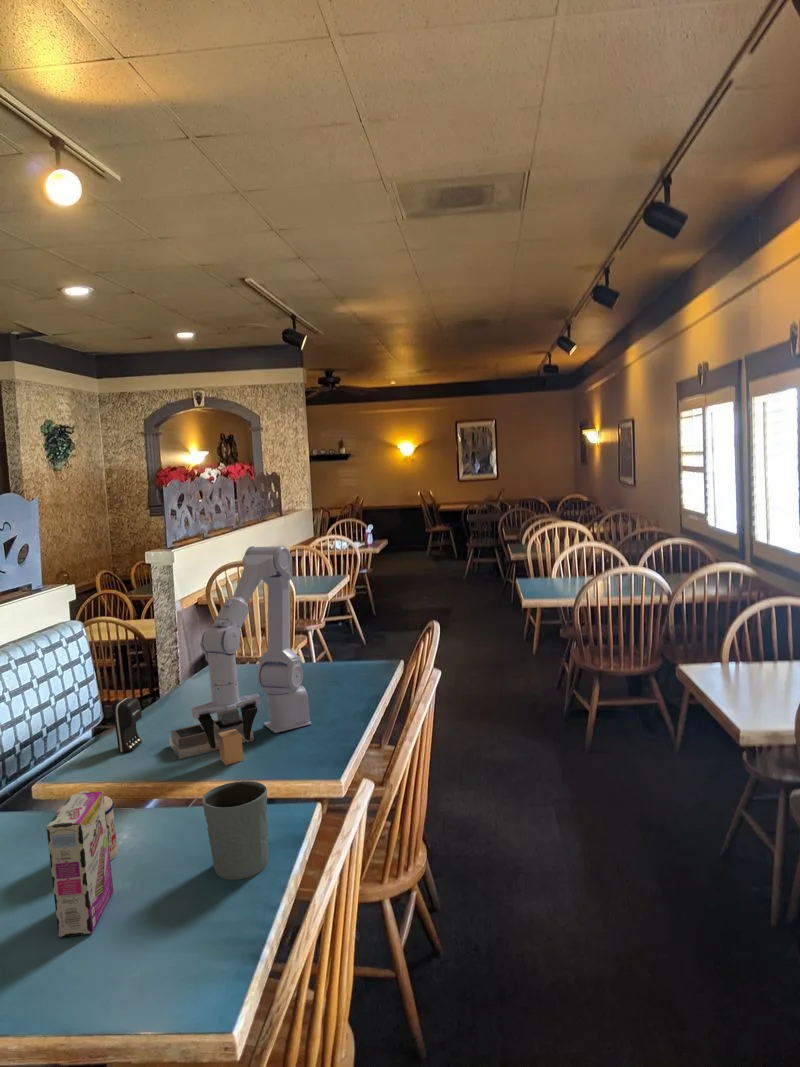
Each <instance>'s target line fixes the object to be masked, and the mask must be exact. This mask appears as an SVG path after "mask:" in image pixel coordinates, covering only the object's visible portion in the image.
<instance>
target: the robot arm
mask: <svg viewBox="0 0 800 1067" xmlns="http://www.w3.org/2000/svg"><path fill="white" fill-rule="evenodd" d="M242 557H243V558H242V560H241V561H242V567H243V570H242V573H241V576H240V577H239V580H238V583H237V586H236V588H235V590H234V593H233V595H232V597H230V598H227V599H225V601H224V603H223V604H222V606H221V609H220V610H219V612H218V615H217V616H216V618H215V620H214V622H213V624H212V626H210V627H209V628H207V629H206V630H205V631H203V633H202V635H201V640H200V641H201V642H200V648H201V650H202V652H203V653H204V657H205V661H206V662H207V663H208V671H209V672H208V673H209V680H210V681H209V682H210V688H211V699H212V701H209V702H206V703H204V704H201V705H198V706H194V707H191V714H192V716H191V717H192V718H193V719H194V720H195V719H197V721H199V723H200V724H201V725H202V727H203V728H204V730H205V732H206V735H207V737H208V740H209V744H210V747H211V748H212V749H213V748H216V745H215V738H214V721H215V720H214V719H213V717H212V715H214V714H217V713H219V712H223V711H228V710H232V709H240V712H241V717H242V719H243V732H244V738H245V739H246V740H250V734H251V731H252V728H253V723H254V720H255V719H256V715H257V713H258V705H261V696H260V695H259V694H258V693H254V694H249V695H240V691H239V690H240V689H239V681H238V672H237V662H236V652H237V651H238V649H239V647H240V644H241V642H240V641H241V635H242V631H241V629H242V627H243V625H244V623H245V621H246V618H247V617H248V614H249V612H250V608H249V606H248V602H249V601H250V599H251V598H252V596H253V594H254V593H255V591H256V589H257V588H258V585H259V584H260V583H261V581H263V582H264V583H265V584H266V585H267V651H266V652H265V653H264V654H262V655H261V656H260V657H259V665H258V666H259V667H258V669H257V672H256V673H257V675H256V679H257V682H258V684H259V686H260V687H261V688H263V692H265V693H266V702H267V711H268V721H265V722H264V724H263V725H264V726H265V727H267V728H268V729H269V730H270V731H271V732H273V733H275V734H277V733H280V732H285V731H289V730H294V729H297V728H300V727H305V726H309V725H312V721H311V715H310V714H311V713H310V706H309V704H310V703H309V696H308V692H307V690H306V688H305V687H304V686H303V685H301V684H302V682H303V678H304V672H303V669H302V665H301V657H300V656H299V655H297V654H296V653H295V652H294V651H293V650H292V649H291V601H290V600H291V598H290V597H291V596H290V595H291V582H290V580H292V578H293V555H292V553H291V552H290V550H289V549H288V548H287V546H285V545H278V546H277V545H276V546H254V545H253V546H249V547H248V548H246V551H245V552H244V556H242Z"/></svg>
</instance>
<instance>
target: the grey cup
mask: <svg viewBox="0 0 800 1067" xmlns="http://www.w3.org/2000/svg"><path fill="white" fill-rule="evenodd" d="M201 802H202V807H203V812H204V816H205V822H206V825H207V828H206V830H207V834H208V839H209V846H210V850H211V851H210V852H211V857H212V863H213V869H214V872H215V874H216V875H217V876H218V877H219V878H221V879H223V880H229V881H232V880H233V881H238V880H244V879H248V878H252V877H253V876H256V875H258V874H259V873H261V872H263V871H264V870H265V868H267V866H268V864H269V845H268V836H269V831H268V815H267V814H268V813H267V812H268V809H267V808H268V807H267V806H268V788H267V786H266V785H265V784H264V783H262V782H258V781H253V780H252V781H251V780H250V781H249V780H246V781H245V780H242V781H240V780H239V781H233V782H228V783H224V784H222V785H218V786H216V787H214V788H212V789H210V790H208V791H207V792H206V793H205V794H204V795H203V797H202V799H201Z"/></svg>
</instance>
